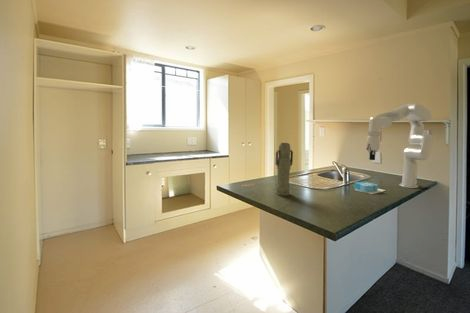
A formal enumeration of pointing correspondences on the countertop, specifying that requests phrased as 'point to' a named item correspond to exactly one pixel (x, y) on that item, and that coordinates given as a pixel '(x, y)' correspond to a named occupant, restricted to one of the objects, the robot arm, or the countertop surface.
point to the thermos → (283, 169)
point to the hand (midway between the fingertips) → (372, 159)
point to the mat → (372, 192)
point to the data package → (365, 186)
